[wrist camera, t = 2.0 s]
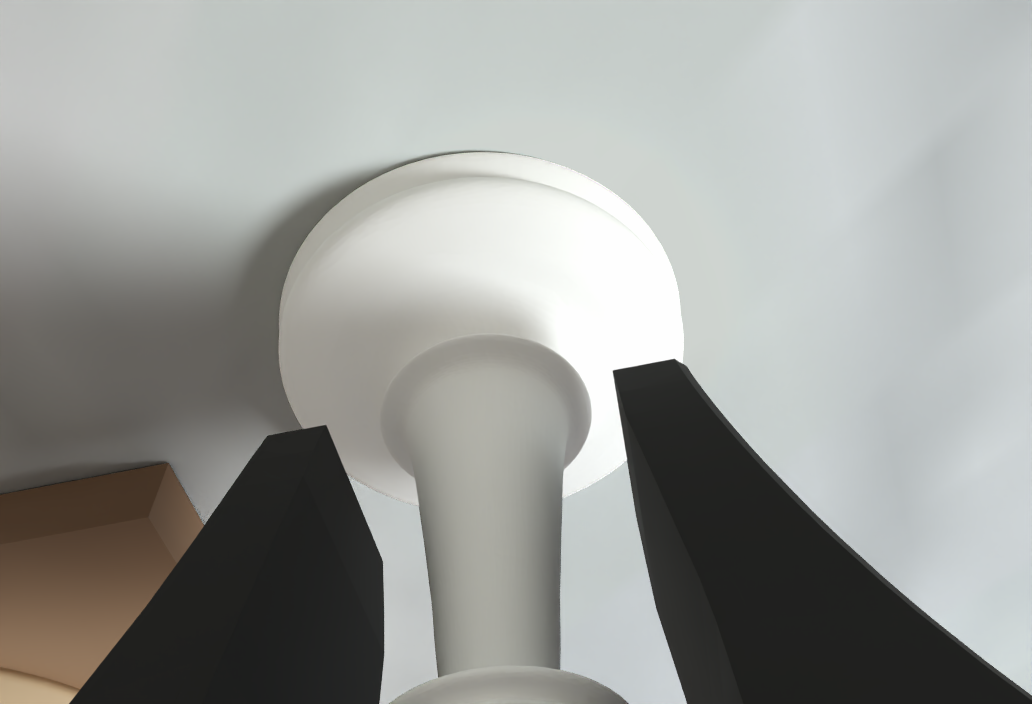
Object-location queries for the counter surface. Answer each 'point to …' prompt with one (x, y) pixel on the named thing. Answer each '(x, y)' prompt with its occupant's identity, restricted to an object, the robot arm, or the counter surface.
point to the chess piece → (480, 385)
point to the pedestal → (82, 573)
